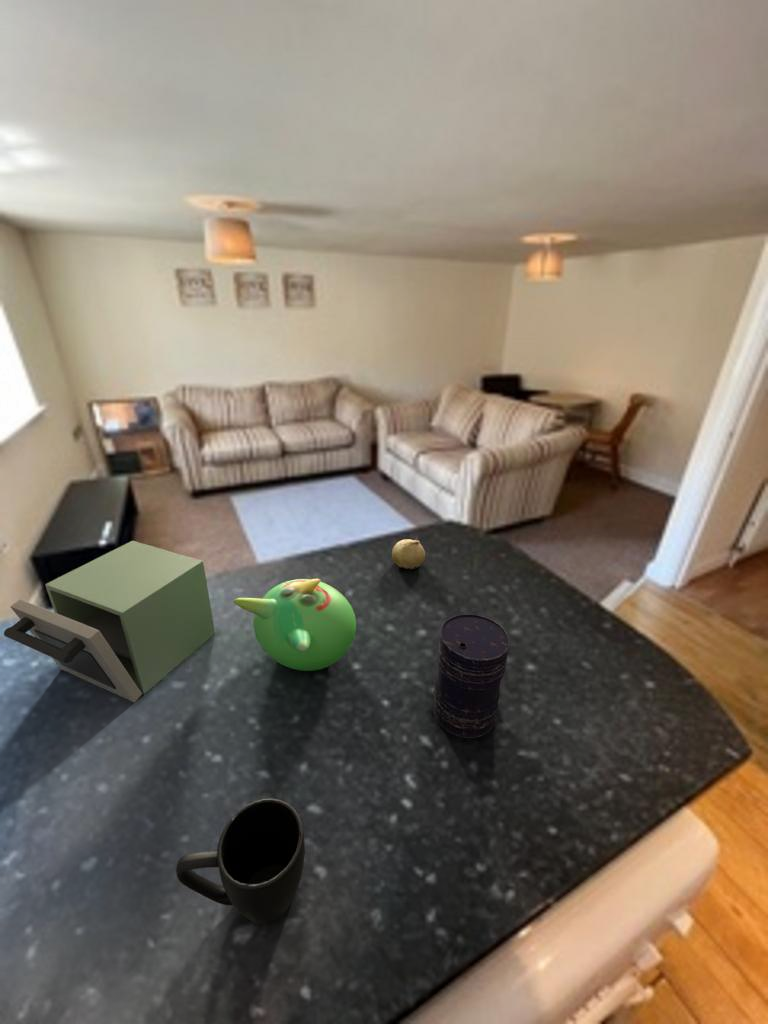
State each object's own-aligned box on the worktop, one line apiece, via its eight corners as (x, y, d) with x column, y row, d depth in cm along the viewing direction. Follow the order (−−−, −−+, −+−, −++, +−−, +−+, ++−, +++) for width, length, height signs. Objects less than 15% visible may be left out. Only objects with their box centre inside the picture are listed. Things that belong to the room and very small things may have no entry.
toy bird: (373, 648, 82) (374, 581, 76) (310, 711, 69) (306, 636, 63) (300, 613, 91) (296, 550, 85) (233, 662, 78) (222, 592, 72)
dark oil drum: (458, 677, 76) (467, 605, 70) (508, 711, 70) (523, 636, 64) (419, 709, 70) (425, 634, 64) (471, 751, 64) (483, 672, 57)
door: (117, 721, 67) (67, 658, 58) (43, 685, 73) (-13, 622, 64) (142, 694, 71) (99, 630, 61) (69, 661, 77) (20, 598, 67)
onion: (406, 577, 104) (408, 550, 101) (384, 563, 109) (385, 537, 106) (431, 566, 109) (433, 540, 106) (408, 553, 114) (410, 528, 111)
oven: (144, 694, 71) (122, 612, 64) (71, 662, 77) (44, 584, 70) (215, 633, 85) (203, 560, 78) (149, 609, 90) (132, 540, 84)
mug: (197, 864, 50) (183, 811, 46) (306, 843, 52) (302, 791, 48) (182, 960, 43) (164, 907, 39) (309, 932, 45) (304, 879, 41)
